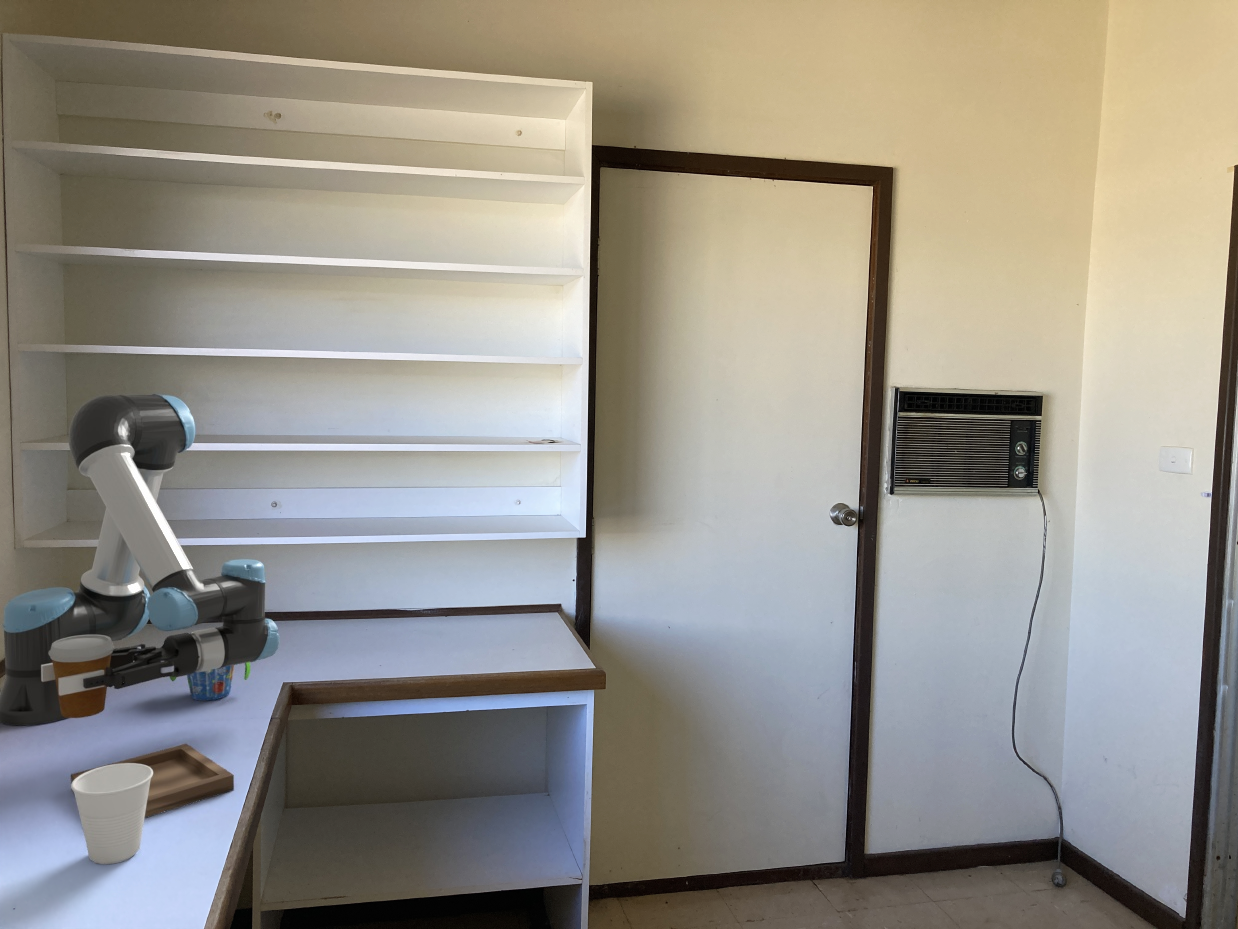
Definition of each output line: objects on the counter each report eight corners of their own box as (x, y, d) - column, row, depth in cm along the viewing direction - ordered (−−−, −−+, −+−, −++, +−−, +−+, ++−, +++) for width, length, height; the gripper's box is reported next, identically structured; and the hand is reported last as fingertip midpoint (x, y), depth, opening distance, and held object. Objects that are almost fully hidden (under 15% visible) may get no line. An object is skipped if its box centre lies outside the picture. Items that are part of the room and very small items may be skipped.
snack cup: (160, 703, 186) (159, 654, 185) (185, 686, 196) (184, 639, 195) (237, 705, 186) (236, 656, 185) (258, 688, 196) (257, 641, 195)
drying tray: (71, 789, 147) (70, 774, 146) (186, 757, 160) (186, 743, 160) (113, 828, 135) (112, 811, 134) (233, 789, 148) (233, 774, 148)
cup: (136, 829, 134) (134, 756, 133) (167, 852, 128) (166, 776, 127) (61, 855, 127) (59, 778, 126) (91, 881, 120) (88, 800, 119)
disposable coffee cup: (104, 721, 151) (103, 649, 150) (40, 723, 149) (38, 651, 148) (122, 700, 160) (122, 633, 159) (62, 702, 158) (61, 634, 157)
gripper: (217, 687, 161) (72, 720, 144) (168, 659, 174) (31, 686, 158) (217, 645, 160) (71, 673, 143) (168, 620, 174) (30, 643, 157)
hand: (50, 680), depth 150 cm, fingers closed on disposable coffee cup, 8 cm apart
